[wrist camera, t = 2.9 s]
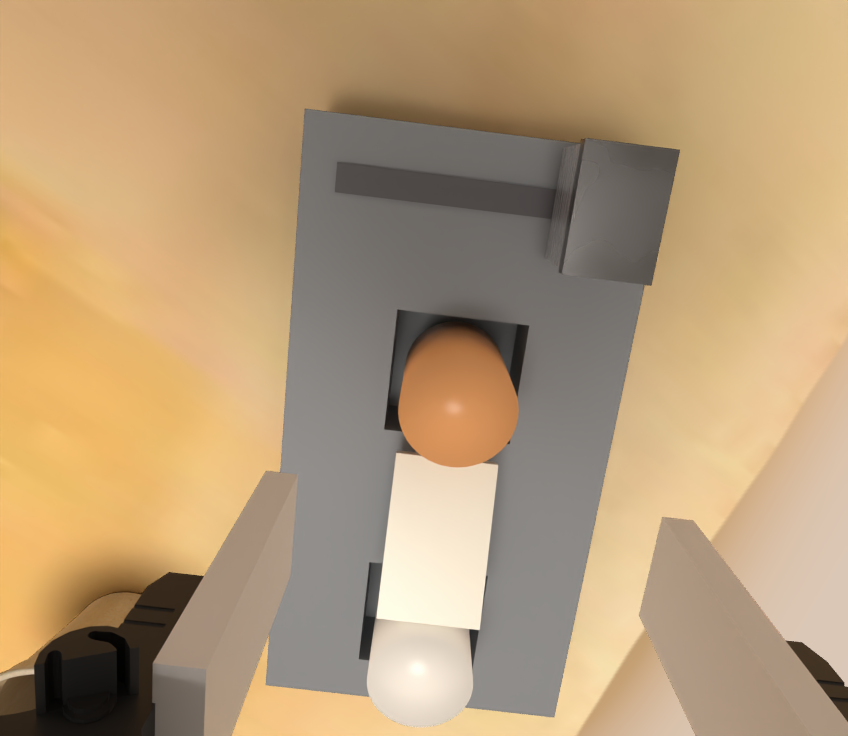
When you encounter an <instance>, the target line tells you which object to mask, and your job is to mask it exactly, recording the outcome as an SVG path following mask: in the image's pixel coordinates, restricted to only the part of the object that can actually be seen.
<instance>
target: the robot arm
mask: <svg viewBox="0 0 848 736" xmlns="http://www.w3.org/2000/svg"><path fill="white" fill-rule="evenodd" d="M297 482H298V474H289V473H281V472H272V471H266V472H265V473H264V475H263V477H262V479H261V480H260V482H259V484H258V485H257V487H256V489H255V490H254V492H253V494H252V496H251V497H250V499H249V501H248V502H247V504H246V506H245V507H244V509H243V511H242V513H241V514H240V516H239V518H238V519H237V521H236V523H235V524H234V526H233V528H232V530H231V531H230V533H229V535H228V536H227V538H226V540H225V541H224V543H223V545H222V546H221V548H220V550H219V552H218V553H217V555H216V557H215V558H214V560H213V562H212V563H211V565H210V567H209V569H208V570H207V572H206V574H205V575H204V576H198V575H189V574H180V573H171V572H169V573H167V574H166V575H164V576H163V577H161V578H160V579H158V580H157V581H155V582H154V583H152V584H151V585H149V586H148V587H147V588H146V589H145V591H144V592H143V593H142V595H141V596H140V598H139V599H138V601H137V602H136V603H135V606H134V608H132V609H131V610H130V612H129V613H128V615H127V616H126V617H125V619H124V622H123V623H121V624H120V626H119V627H118V628H116V627H112V626H89V627H85V628H81V629H78V630H74V631H70V632H68V633H66V634H64V635H62V636H60V637H58V638H56V639H54V640H52V641H51V642H50V643H49V644H48V645H47V646H46V647H45V648H44V649H43V650H42V651H40V653H39V655H38V657H37V659H36V662H35V664H34V679H35V702H36V709H33V710H29V711H25V712H20V713H15V714H8V715H1V716H0V736H231V735H232V733H233V730H234V727H235V725H236V722H237V719H238V716H239V714H240V711H241V708H242V706H243V703H244V700H245V698H246V695H247V692H248V689H249V687H250V684H251V681H252V679H253V676H254V673H255V670H256V668H257V665H258V662H259V660H260V657H261V654H262V651H263V649H264V646H265V643H266V641H267V638H268V635H269V632H270V630H271V627H272V624H273V622H274V619H275V616H276V614H277V611H278V608H279V605H280V603H281V600H282V597H283V595H284V592H285V589H286V586H287V584H288V581H289V578H290V576H291V562H292V549H293V536H294V522H295V509H296V496H297ZM639 617H640V619H641V621H642V623H643V625H644V627H645V629H646V632H647V633H648V636H649V638H650V640H651V642H652V644H653V646H654V648H655V651H656V653H657V655H658V657H659V659H660V661H661V663H662V666H663V668H664V670H665V672H666V674H667V676H668V678H669V680H670V682H671V685H672V687H673V689H674V691H675V693H676V695H677V697H678V699H679V702H680V703H681V706H682V708H683V710H684V712H685V714H686V716H687V719H688V721H689V723H690V725H691V727H692V729H693V731H694V733H695V736H848V687H845V686H844V682H843V681H842V679H841V678H840V677H839V676H838V675H837V673H836V672H835V671H834V670H833V668H832V667H831V666H830V665H829V663H828V662H827V661H825V660H824V659H823V658H822V657H820V656H819V655H817V654H816V653H815V652H814V651H812V650H811V649H810V648H808V647H807V646H806V645H804V644H803V643H802V642H794V641H785V639H784V638H783V637H782V635H781V634H780V633H779V632H778V630H777V629H776V628H775V626H774V625H773V624H772V623H771V621H770V620H769V618H768V617H767V616H766V615H765V613H764V612H763V611H762V609H761V608H760V607H759V605H758V604H757V603H756V601H755V600H754V599H753V598H752V596H751V595H750V594H749V592H748V591H747V590H746V588H745V587H744V586H743V584H742V583H741V582H740V581H739V579H738V578H737V577H736V575H735V574H734V573H733V571H732V570H731V569H730V567H729V566H728V565H727V564H726V562H725V561H724V560H723V558H722V557H721V556H720V555H719V553H718V552H717V550H716V549H715V548H714V547H713V545H712V544H711V543H710V541H709V540H708V539H707V537H706V536H705V535H704V533H703V532H702V531H701V530H700V528H699V527H698V526H697V524H696V523H695V522H694V521H693V520H684V519H675V518H667V517H662V520H661V524H660V529H659V533H658V537H657V541H656V545H655V550H654V554H653V558H652V562H651V566H650V571H649V575H648V579H647V583H646V588H645V592H644V596H643V600H642V604H641V609H640V613H639Z"/></svg>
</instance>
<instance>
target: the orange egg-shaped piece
mask: <svg viewBox="0 0 848 736" xmlns="http://www.w3.org/2000/svg"><path fill="white" fill-rule="evenodd" d="M518 414H519V406H518V399H517V395H516V392H515V389H514V386H513V384H512V381H511V379H510V376H509V373H508V371H507V368H506V366H505V363H504V360H503V358H502V355H501V353H500V350H499V348H498V346H497V344H496V343H495V342H494V340H493V339H492V338H491V337H490V336H489V335H488V334H487V333H486V332H485V331H483V330H482V329H480V328H478V327H476V326H474V325H472V324H469V323H464V322H455V321H453V322H445V323H440V324H437V325H435V326H433V327H431V328H429V329H427V330H426V331H424V332H423V333H422V334H421V335H420V336H419V337H418V338H417V339H416V340H415V341H414V343H413V344H412V346H411V348H410V350H409V352H408V355H407V358H406V363H405V369H404V375H403V381H402V387H401V393H400V399H399V407H398V415H399V422H400V426H401V429H402V432H403V434H404V436H405V438H406V440H407V441H408V442H409V444H410V445H411V446H412V448H413V449H414V450H415V451H416V452H418V453H419V454H420V455H421V456H423V457H424V458H426V459H427V460H429V461H431V462H434V463H436V464H439V465H442V466H448V467H469V466H474V465H477V464H480V463H482V462H485V461H487V460H489V459H490V458H492V457H494V456H495V455H496V454H497V453H499V452H500V451H501V450H502V449H503V448H504V447H505V446H506V444H507V443H508V442H509V440H510V439H511V437H512V435H513V433H514V431H515V428H516V425H517V421H518Z"/></svg>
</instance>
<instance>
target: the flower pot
mask: <svg viewBox="0 0 848 736" xmlns="http://www.w3.org/2000/svg"><path fill="white" fill-rule="evenodd" d="M140 596H141V594H137V593H129V592H121V593H113V594H109V595H106V596H103V597H101V598H99V599H97V600H95V601H94V602H92V603H91V604H90V605H89V606H87V607H86V608H85V609H84V610H83V611H82V612H81V613H80V614H79V615H78V616H77V617H76V618H75V619H74V620H73V621H71V622H70V623H69V624H68V625H67V626H66V627H65V628H64V629H62V630H61V631H60V632H59V633H58V634H57V635H55V636H54V637H53V638H52V639H51V640H50V641H49V642H47V643H46V644H45V645H44V646H43V647H42V648H40V649H39V650H38V651H37V652H36V653H35V654H33V655H32V656H31V657H30V658H29V659H28V660H25V661H23V662H21V663H19V664H17V665H15V666H13V667H12V668H10V669H9V670H6V671H4V672H1V673H0V716H1V715H8V714H15V713H20V712H25V711H29V710H33V709H36V702H35V679H34V664H35V662H36V659H37V657H38V655H39V653H40V651H42V650H43V649H44V648H45V647H46V646H47V645H48V644H49V643H50V642H51V641H52V640H54V639H56V638H58V637H60V636H62V635H64V634H66V633H68V632H70V631H74V630H78V629H81V628H85V627H89V626H112V627H116V628H118V627H119V626H120V624H121V623H123V622H124V619H125V617H126V616H127V615H128V613H129V612H130V610H131V609H132V608H134V606H135V603H136V602H137V601H138V599H139V598H140Z"/></svg>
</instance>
